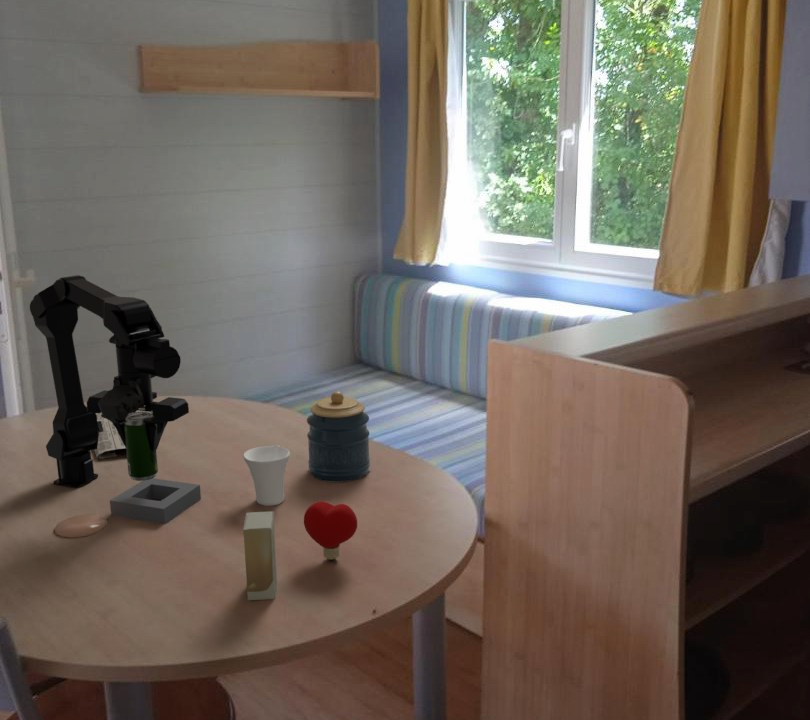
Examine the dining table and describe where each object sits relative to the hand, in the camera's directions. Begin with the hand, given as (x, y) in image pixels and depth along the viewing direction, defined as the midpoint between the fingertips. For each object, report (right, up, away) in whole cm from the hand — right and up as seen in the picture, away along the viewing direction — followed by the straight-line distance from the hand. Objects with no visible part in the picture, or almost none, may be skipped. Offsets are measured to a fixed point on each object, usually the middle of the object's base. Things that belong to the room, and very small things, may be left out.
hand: (141, 448), depth 167 cm
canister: (+36, -7, +21) cm, 42 cm away
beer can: (0, -5, +1) cm, 6 cm away
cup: (+23, -11, +7) cm, 26 cm away
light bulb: (+37, -17, -18) cm, 45 cm away
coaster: (-10, -14, -4) cm, 17 cm away
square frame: (+2, -12, +4) cm, 12 cm away
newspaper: (-20, -2, +46) cm, 50 cm away
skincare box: (+27, -20, -27) cm, 43 cm away
